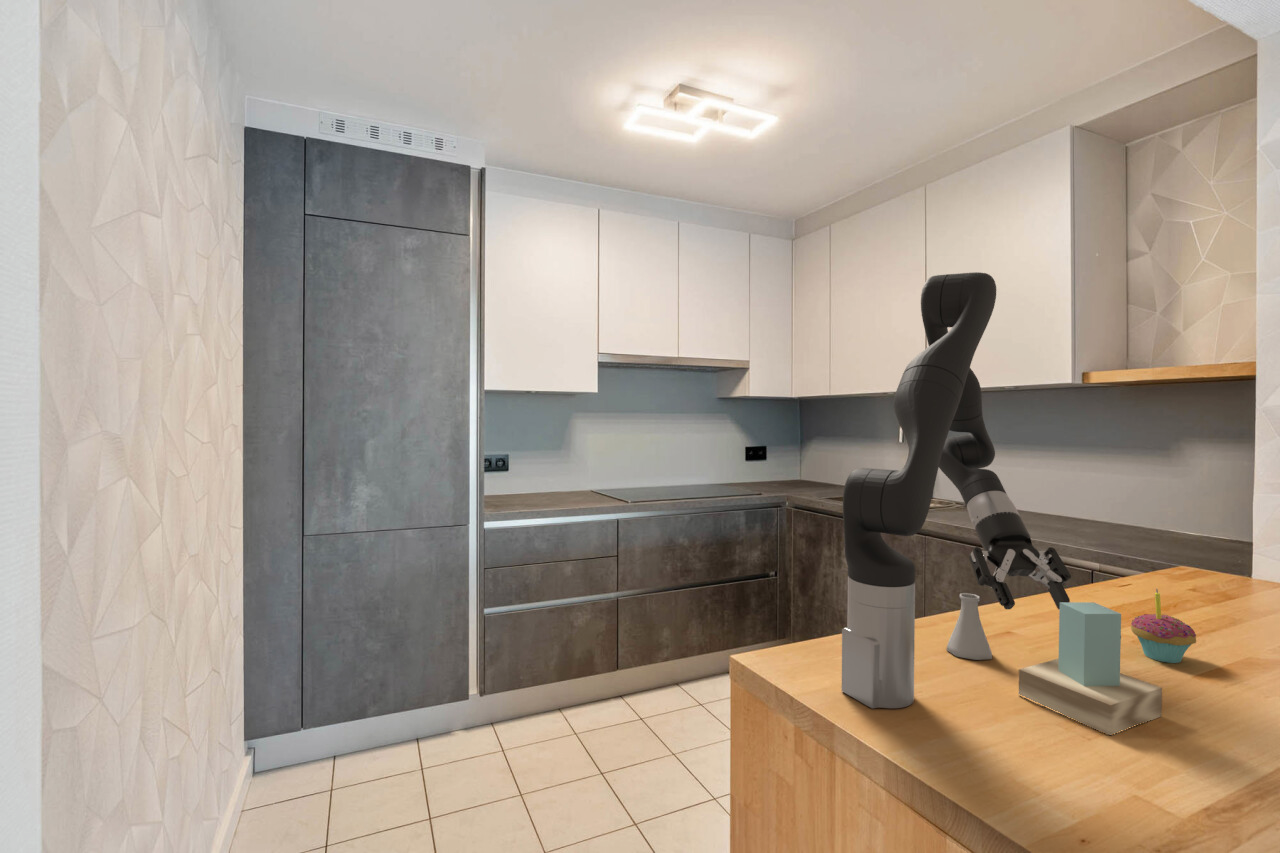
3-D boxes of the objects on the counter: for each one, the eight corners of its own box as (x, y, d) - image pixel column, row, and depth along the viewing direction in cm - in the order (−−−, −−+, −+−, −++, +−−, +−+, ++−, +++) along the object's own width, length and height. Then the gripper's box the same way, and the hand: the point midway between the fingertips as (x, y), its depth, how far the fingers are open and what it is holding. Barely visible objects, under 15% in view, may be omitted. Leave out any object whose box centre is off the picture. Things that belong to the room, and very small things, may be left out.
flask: (999, 663, 101) (1000, 603, 101) (952, 659, 103) (953, 600, 102) (984, 646, 108) (985, 591, 108) (940, 643, 110) (941, 588, 109)
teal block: (1119, 685, 84) (1121, 613, 84) (1083, 686, 84) (1085, 613, 84) (1092, 670, 89) (1093, 602, 89) (1058, 670, 89) (1059, 602, 89)
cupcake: (1180, 671, 98) (1182, 597, 98) (1119, 653, 105) (1120, 584, 105) (1205, 661, 102) (1207, 590, 101) (1144, 644, 109) (1145, 577, 109)
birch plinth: (1110, 736, 78) (1110, 705, 78) (1018, 696, 89) (1019, 669, 89) (1161, 716, 84) (1162, 687, 83) (1068, 681, 94) (1069, 655, 94)
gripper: (964, 510, 106) (1002, 596, 95) (1047, 510, 106) (1094, 596, 95) (949, 534, 111) (983, 618, 100) (1027, 534, 111) (1070, 618, 100)
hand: (1037, 607), depth 98 cm, fingers open, 8 cm apart
